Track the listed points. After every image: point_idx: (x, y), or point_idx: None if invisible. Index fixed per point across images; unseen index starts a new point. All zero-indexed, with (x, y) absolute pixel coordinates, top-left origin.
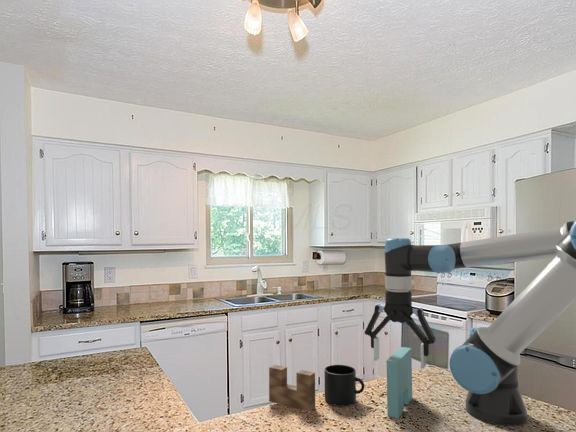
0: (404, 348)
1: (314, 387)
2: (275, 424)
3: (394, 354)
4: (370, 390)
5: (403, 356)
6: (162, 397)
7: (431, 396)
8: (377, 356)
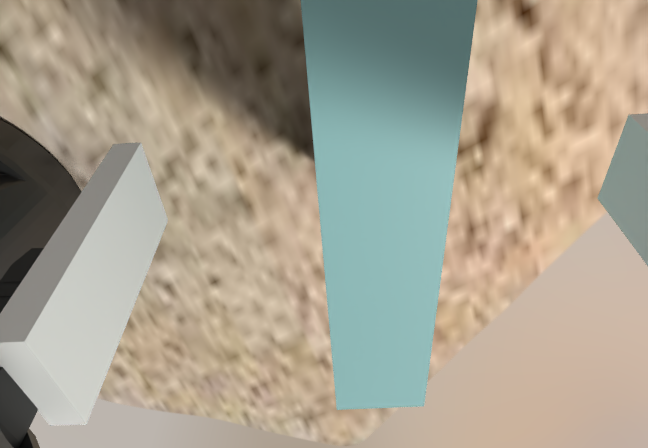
0: (388, 385)
1: None
2: None
3: (436, 186)
4: (557, 148)
5: (317, 183)
6: None
7: (259, 230)
8: (634, 168)
